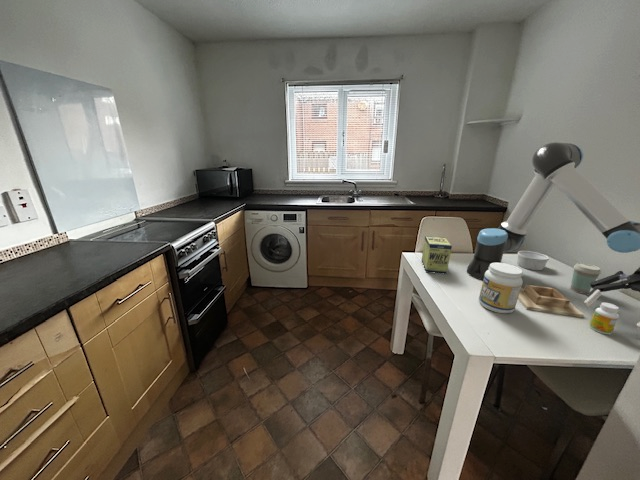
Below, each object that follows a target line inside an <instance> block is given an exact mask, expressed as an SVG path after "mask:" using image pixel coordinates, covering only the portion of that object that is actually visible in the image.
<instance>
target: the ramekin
mask: <svg viewBox="0 0 640 480" xmlns="http://www.w3.org/2000/svg"><path fill="white" fill-rule="evenodd" d="M549 259H550V257H549V256H547V255H546V254H543V253H540V252H537V251H530V250H519V251H518V252H517V258H516V263H517V265H518V266H519V267H521V268H524V269H527V270H531V271H542V270H543V269H545V267H546V265H547V262H549Z"/></svg>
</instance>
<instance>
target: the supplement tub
mask: <svg viewBox="0 0 640 480" xmlns="http://www.w3.org/2000/svg"><path fill="white" fill-rule="evenodd" d="M522 276H523V269H521V268H520V267H517V266H515V265H512V264H509V263H504V262H501V263H491V264H490V266H489V270H487V271H486V272H485V275H484V279H483V280H482V285H481V288H480V292H479V296H478V302H479V303H480V305H481V306H482V307H484V308H486V309H488V310H489V311H492V312H495V313H498V314H511V313H513V312H514V310H515V309H516V305H517V303H518V296H519V293H520V289H522V287H523V286H522V285H523V282H524V281H523V280H524V279H523V278H522Z"/></svg>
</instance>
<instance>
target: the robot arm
mask: <svg viewBox="0 0 640 480" xmlns="http://www.w3.org/2000/svg"><path fill="white" fill-rule="evenodd" d="M583 160H584V152H583V149H582V148H581V147H580V146H578V145H576V144H575V143H574V144H573V143H569V142H557V141H555V142H549V143H546V144H544V145H541V146H540V147H539V148H538V149H537V150H536V151H535V152H534V153H533V155H532V160H531V162H532V166H533V168H534V170H533V173H534V177H533V178H532V180H531V181H530V183H529V185H528V186H527V188H526V189H525V191H524V193H523V194H522V195H521V197H520V199H519V201H518V202H517V204H516V206H515V207H514V209H513V210H512V211H511V213H510V215H509V216H508V218H507V220H506V221H503V222H501V223H500V224H499V226H498V228H495V227H494V228H493V227H492V228H484V229H481V230H480V231H479V233H478V236H477V238H476V239H477V240H476V245H475V249H474V253H473V254H474V255H473V258H472V260H471V262H470V263H469V265H468V266H467V267H466V273H467V274H468V275H469V276H471V277H473V278H474V279H478V280H480V281H481V280H482V281H483V279H484V275H485V272H486V271H487V270H489V266H490V264H491V263H502V260H503V256H504V254H505V253H509V252H514V251H516V250H519V248H521V247H523V246H524V243H525V241H526V238H525V237H526V236H527V234H528V231H527V228H528V227H529V225H530V224H531V222H532V221H533V219H534V218H535V216H536V214H537V213H538V211H539V210H540V209H541V207H542V206H543V205H544V203H545V202H546V201H547V199H548V197H549V196H550V194H551V193H552V192H553V190H554V188H555V187H557V189H559V191H560V192H562V194H563V195H564V196H565V197H566V198H567V199H568V201H570V202H571V203H572V204H573V205H574V206H575V208H577V210H578V211H579V212H581V214H582V215H584V216H585V218H586V219H587V220H588V221H589V222H590V223H591V224H592V225H593V226H594V227H595V228H596V229H597V230H598V231H599V233H601V234H602V236H603V237H604V238H606V245H607V246H608V248H609V249H610V250H612V251H614V252H617V253H622V254H624V253H625V254H627V253H633V252H637V251H639V250H640V222H636V221H632V220H630V219H629V218H627V216H625V215H624V214H623V213H622V212H621V211H620V210H619V209H618V208H617V207H616V206H615V205H614V204H613V203H612V202H611V201H610V200H608V198H607V197H605V196H604V195H603V194H602V193H601V191H599V190H598V189H597V188H596V186H594V185H593V184H592V183H591V181H589V180H588V179H587V178H586V177H585V176H584V175H583V174H582V173H580V171H579V170H577V169H576V168H578V167H579V166H580V164H582V162H583ZM624 279H625V280H624ZM620 280H621V281H620ZM590 285H591V287H592V288H591V289H592V290H590V291H589V292H588V293H587V296H588V297H587V299H585V300H584V301H583V304H584V305H585V306H586V307H587V308H588V307H590V306H591V305H592V304H593V303H594V302H595V301H596V300H597V299H599V297H601V296H602V293H605V292H610V291H616V290H623V289H624V290H628V289H631V290H632V291H634V292H639V293H640V266H639V267H638V268H637V269H635V271H634V273H631V274H626V273H624V271H623V270H618V271H617V272H615V273H614V274H612V275H611V274H610V275H609V276H606V277H603V278H599V279H596V281H594V282H591V283H590ZM636 328H637V330H639V331H640V321H638V322H637V324H636Z"/></svg>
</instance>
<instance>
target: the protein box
mask: <svg viewBox="0 0 640 480" xmlns="http://www.w3.org/2000/svg"><path fill="white" fill-rule="evenodd" d="M423 241H424V242H423V249H422V256H421V263H423V264H422V266H423V265H424V267H423V269H424V268H425V269H424V271H427V272H426V273H429V272H435V273H434V274H439V273H444V274H443V275H447V274H448V268H449V264H450V263H449V262H450V257H451V253H452V247H453V246H452V245H451V243H450V242H449V241H448V239H447V238H446V237H443V236H432V235H431V236H429V235H426V236H424V240H423Z"/></svg>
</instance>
